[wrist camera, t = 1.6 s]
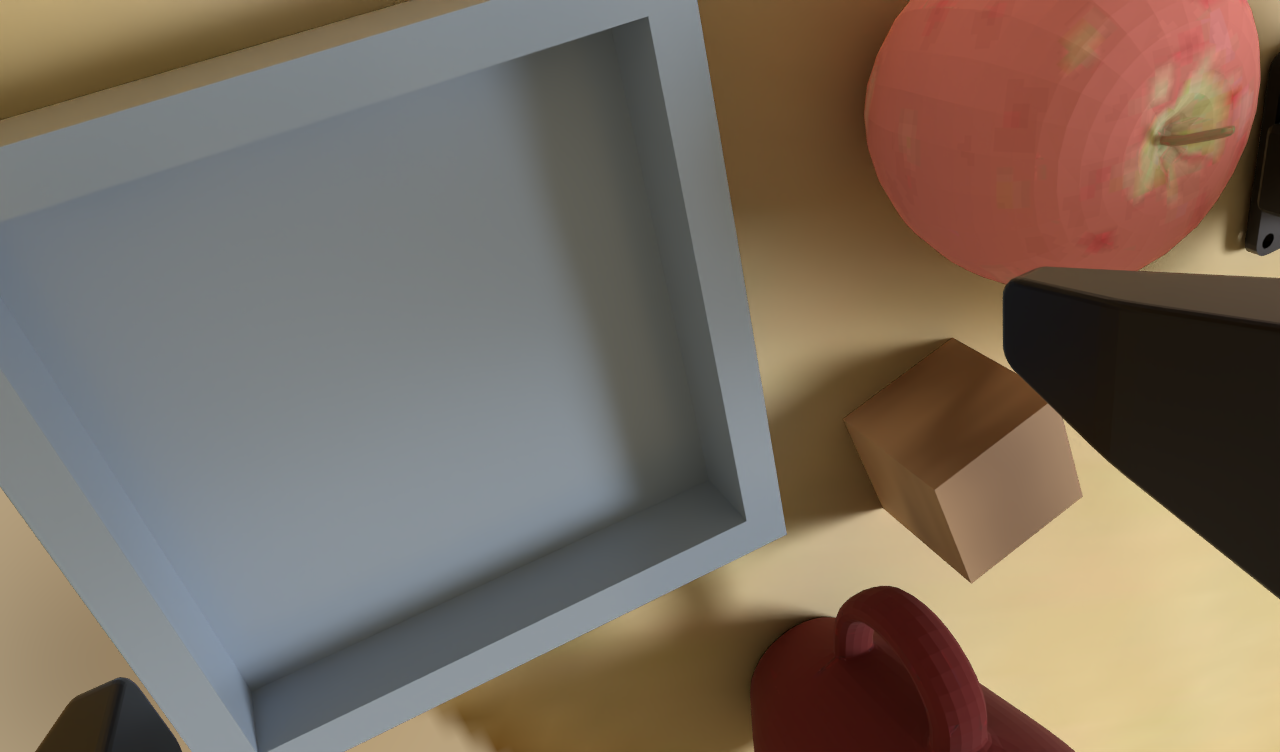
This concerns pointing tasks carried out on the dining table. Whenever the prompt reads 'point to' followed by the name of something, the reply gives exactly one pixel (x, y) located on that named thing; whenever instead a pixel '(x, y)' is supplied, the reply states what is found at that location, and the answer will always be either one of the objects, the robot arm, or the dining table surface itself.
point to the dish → (381, 357)
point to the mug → (881, 687)
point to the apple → (1060, 126)
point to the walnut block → (965, 457)
